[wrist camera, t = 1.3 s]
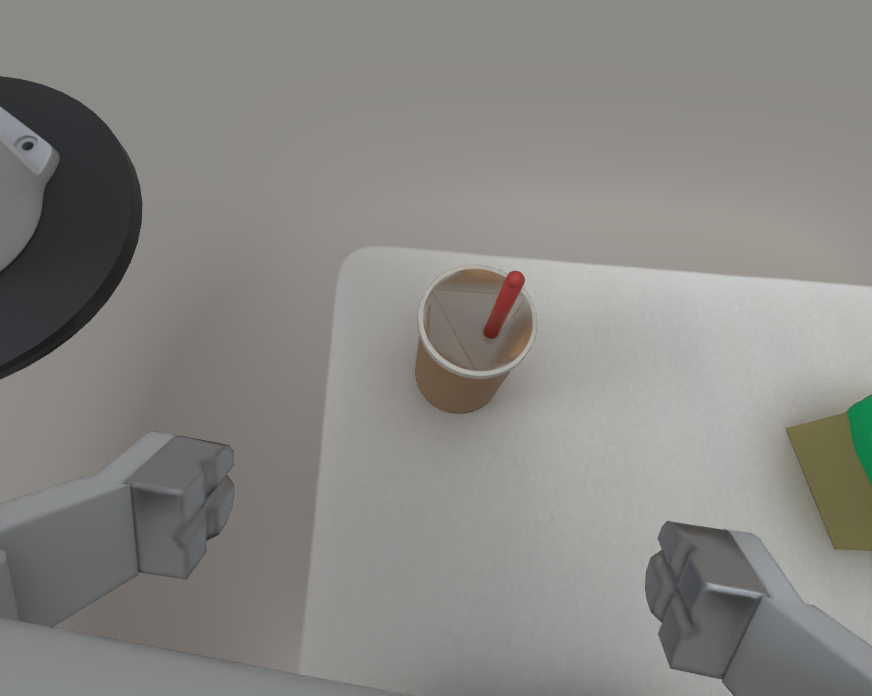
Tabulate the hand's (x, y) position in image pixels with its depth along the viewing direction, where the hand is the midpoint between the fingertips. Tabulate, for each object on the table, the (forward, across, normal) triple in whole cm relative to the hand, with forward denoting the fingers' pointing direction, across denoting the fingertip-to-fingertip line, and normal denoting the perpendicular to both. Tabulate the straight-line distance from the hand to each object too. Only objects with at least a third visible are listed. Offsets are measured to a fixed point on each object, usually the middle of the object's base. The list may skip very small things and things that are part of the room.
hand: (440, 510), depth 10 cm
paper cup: (+26, 0, +9) cm, 28 cm away
